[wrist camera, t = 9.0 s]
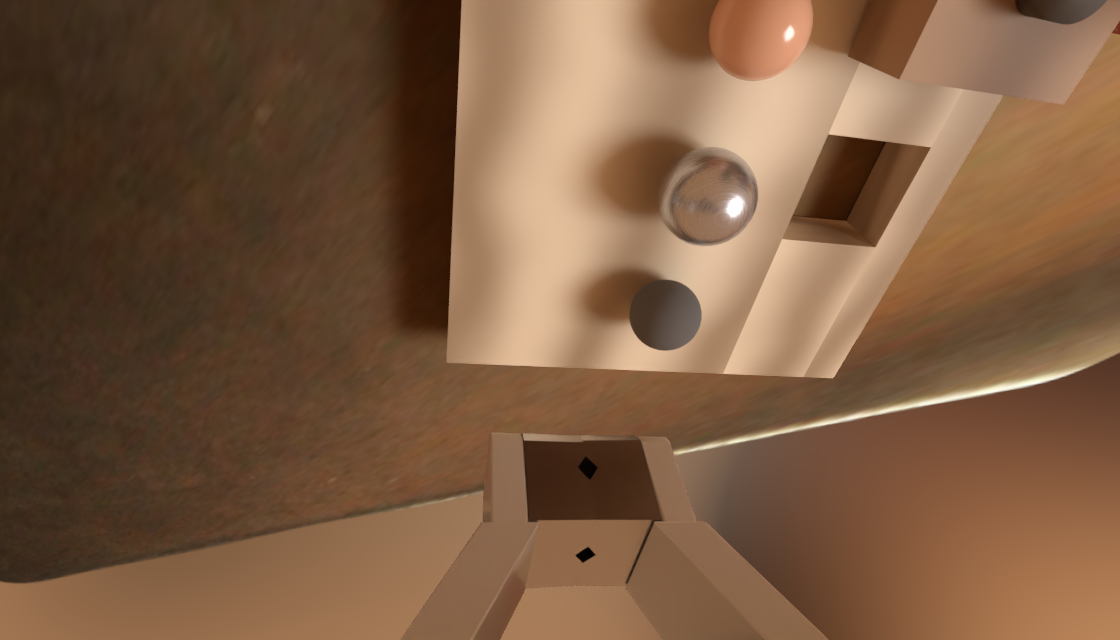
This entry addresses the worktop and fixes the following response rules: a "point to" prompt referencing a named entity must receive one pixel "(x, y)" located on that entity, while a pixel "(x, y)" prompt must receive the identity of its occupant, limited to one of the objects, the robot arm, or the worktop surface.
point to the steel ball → (708, 196)
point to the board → (637, 170)
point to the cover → (987, 43)
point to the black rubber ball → (665, 315)
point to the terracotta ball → (759, 36)
